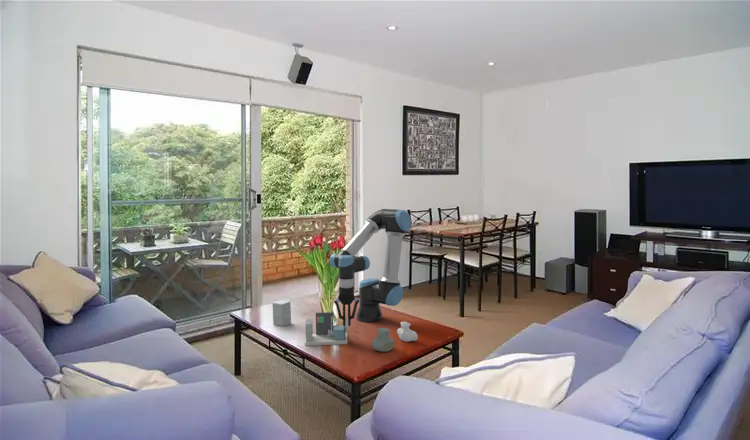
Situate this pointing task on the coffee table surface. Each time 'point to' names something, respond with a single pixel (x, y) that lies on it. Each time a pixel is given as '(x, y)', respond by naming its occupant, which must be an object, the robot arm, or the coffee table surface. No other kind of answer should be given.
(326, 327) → the gauge stand
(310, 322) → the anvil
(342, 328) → the block
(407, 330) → the duck figurine
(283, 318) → the supplement box
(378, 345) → the air freshener
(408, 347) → the coffee table surface
